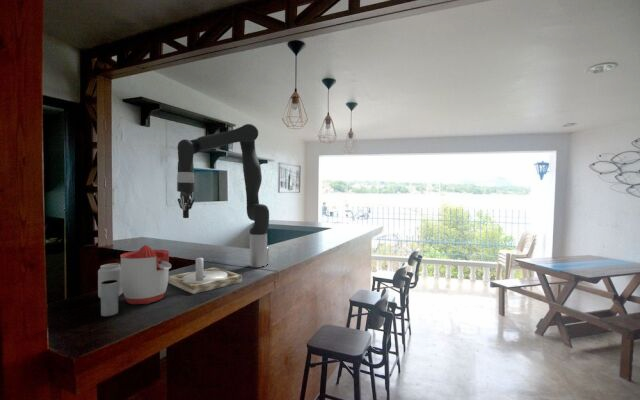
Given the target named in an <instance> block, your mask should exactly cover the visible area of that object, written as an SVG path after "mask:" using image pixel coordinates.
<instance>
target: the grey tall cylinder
mask: <svg viewBox="0 0 640 400" xmlns="http://www.w3.org/2000/svg"><path fill="white" fill-rule="evenodd" d="M118 313H119V297H118V280H107V281H103V282H101V298H100V315H101V317H111V316H115V315H116V314H118Z"/></svg>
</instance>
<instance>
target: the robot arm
mask: <svg viewBox="0 0 640 400" xmlns="http://www.w3.org/2000/svg"><path fill="white" fill-rule="evenodd" d="M258 136H259V130H258V128H257V126H255V125H254V124H252V123H246V124H244V125H241V126H240V127H237V128H234V129H231V130H227V131H221V132H218V133H213V134H212V133H211V134H207V135H203V136H199V137H197V138H195V139H190V140H189V139H181V140H180V141H178V143H177V175H176V191H177V192H178V193H179V198H177V202H178V205H179V208H180V210H182V218H183V219H189V216H190V210H192V208H193V205H194V202H195V198H192V196H193V195H192V193H193V192H195V174H194V155H195V154H197V153H200V152H201V153H202V152H206V151H207V152H208V151H210V150H214V149H218V148H222V147H225V146H228V145H230V144H235V143H239V145H240V150H241V155H242V156H241V159H242V172H243V180H244V186H245V187H244V189H245V193H246V194H245V195H246V196H245V197H246V214H247V218H248V219H249V220H250V221H253V226H252V227H251V228H250V229H249V267H250V268H263V267H262V266H264V267H267V266H268V265H267V264H269V263H270V262H269V258H270V257H269V256H270V254H269V253H270V252H269V250H270V249H269V247H268V231H269V226H270V209H269V207H268V206H267V205H266V204H263V203H262V204H261V203H260V200H259V192H260V188H261V185H262V180H263V179H262V178H263V176H262V169H261V164H260V161H259V158H258V156H257V155H258V154H257V153H256V144H255V143H256V140H257V138H258ZM266 265H267V266H266ZM269 265H270V264H269Z"/></svg>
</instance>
